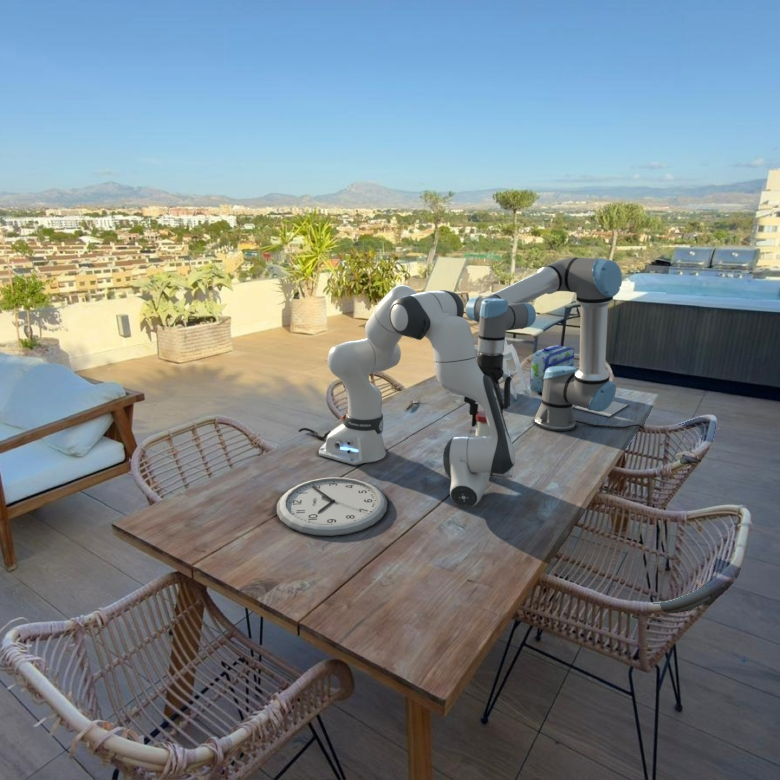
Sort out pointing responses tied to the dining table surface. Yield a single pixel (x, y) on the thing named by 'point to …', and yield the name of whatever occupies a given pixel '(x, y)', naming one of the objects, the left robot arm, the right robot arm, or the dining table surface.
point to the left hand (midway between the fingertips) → (483, 453)
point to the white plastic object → (508, 355)
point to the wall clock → (331, 506)
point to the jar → (482, 429)
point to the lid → (481, 416)
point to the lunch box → (548, 363)
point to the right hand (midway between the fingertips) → (484, 426)
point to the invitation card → (609, 411)
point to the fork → (413, 402)
